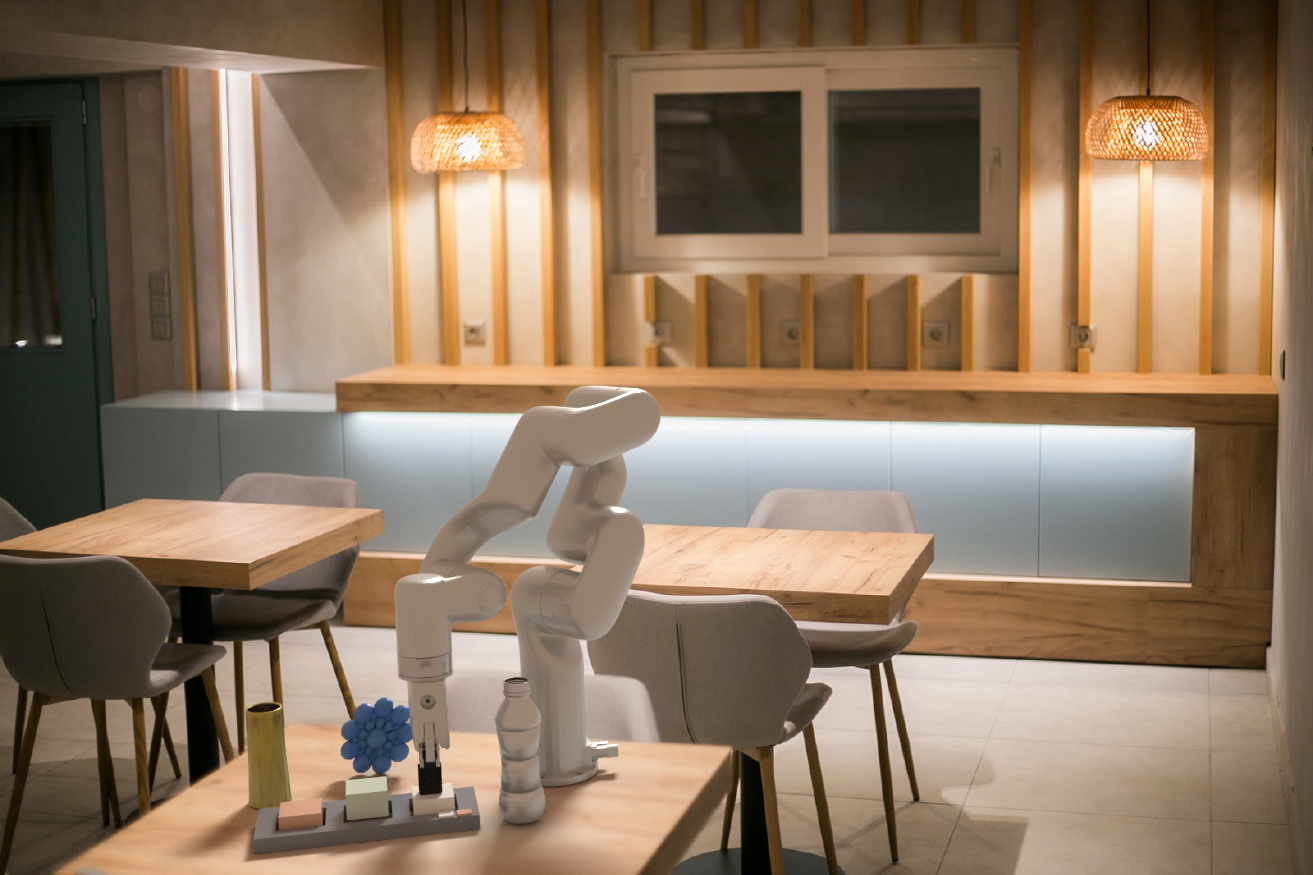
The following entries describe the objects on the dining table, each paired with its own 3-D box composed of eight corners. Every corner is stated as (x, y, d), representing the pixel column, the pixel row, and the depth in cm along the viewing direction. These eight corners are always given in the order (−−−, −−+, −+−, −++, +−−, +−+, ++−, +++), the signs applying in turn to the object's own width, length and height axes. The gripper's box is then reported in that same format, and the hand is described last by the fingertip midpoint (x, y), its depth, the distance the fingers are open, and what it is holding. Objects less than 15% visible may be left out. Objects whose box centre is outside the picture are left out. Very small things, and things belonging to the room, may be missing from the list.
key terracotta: (323, 822, 201) (321, 798, 201) (322, 838, 196) (320, 813, 195) (282, 827, 200) (280, 802, 199) (280, 843, 194) (278, 817, 194)
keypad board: (474, 799, 208) (473, 784, 207) (480, 828, 197) (479, 812, 197) (259, 822, 202) (258, 806, 202) (254, 853, 191) (253, 837, 191)
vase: (280, 811, 206) (273, 714, 204) (240, 809, 207) (234, 713, 205) (299, 795, 212) (292, 701, 210) (260, 793, 213) (254, 700, 211)
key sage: (388, 800, 202) (386, 776, 202) (388, 815, 197) (387, 790, 197) (347, 805, 201) (345, 780, 201) (347, 820, 196) (345, 795, 195)
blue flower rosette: (421, 762, 224) (417, 687, 222) (416, 777, 217) (412, 701, 216) (346, 765, 223) (342, 690, 222) (339, 781, 217) (334, 704, 215)
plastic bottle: (510, 833, 195) (503, 690, 193) (492, 816, 201) (485, 678, 199) (554, 823, 198) (547, 682, 196) (534, 807, 204) (528, 670, 202)
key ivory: (453, 806, 204) (451, 782, 204) (455, 821, 199) (454, 796, 199) (413, 811, 203) (411, 786, 203) (414, 826, 198) (413, 801, 197)
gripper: (456, 677, 192) (461, 809, 194) (449, 648, 206) (454, 771, 208) (399, 681, 190) (405, 814, 192) (396, 652, 205) (401, 776, 207)
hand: (430, 792), depth 200 cm, fingers closed
